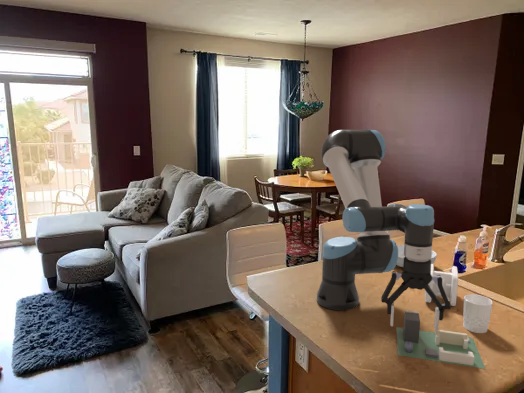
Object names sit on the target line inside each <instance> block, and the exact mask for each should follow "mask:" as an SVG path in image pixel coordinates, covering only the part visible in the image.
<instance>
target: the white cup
mask: <svg viewBox="0 0 524 393" xmlns="http://www.w3.org/2000/svg"><path fill="white" fill-rule="evenodd" d="M492 309H493V301H492V299H491V298H489V297H487V296H484V295H480V294H475V293H473V294H471V293H470V294H466V295H464V297H463V310H462V311H463V315H462V318H463V320H462V323H463V324H462V326H463V327H464V329H465V330H467V331H469V332H472V333H477V334H485V333H487V332H488V329H489V324H490V321H491V320H490V319H491V315H492Z"/></svg>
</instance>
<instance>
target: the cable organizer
mask: <svg viewBox="0 0 524 393" xmlns="http://www.w3.org/2000/svg"><path fill="white" fill-rule="evenodd" d="M458 274H459V272H458V267H457V266H455V265H453V266H452V267H451V272H445V271H439V270H435V266H434V263H433V264H431V276H437V275H441V277H442V286H443V288H444V291H445V294H446V296H447V299H448V301H449V304H450V306H451V307H456V305H457V296H458V294H457V293H458V286H459V284H458V283H459V275H458ZM428 285H429V286H430V288H431V289H432V291H433V292H434V294H435V295H436V296H437V297H441V298H442V296H441V293H440V290H439V288H438V285H437V284H435V282H434V281H433V280H432V281H431V282H430V283H429V284H428ZM424 301H425V303H431V302H432V298H431V297H430V296H429V294H428V293H427V292H426V290H425V289H424Z"/></svg>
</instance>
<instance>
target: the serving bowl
mask: <svg viewBox="0 0 524 393" xmlns="http://www.w3.org/2000/svg"><path fill="white" fill-rule="evenodd" d="M396 245H397V247H398V261H397V264H396V265H397V267H401V268H403V263H404V257H405V256H404V244H396ZM436 259H437V252H436V251H434V250H433V249H432V257H431V259H430V260H431V264H434V263H435V262H436Z"/></svg>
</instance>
